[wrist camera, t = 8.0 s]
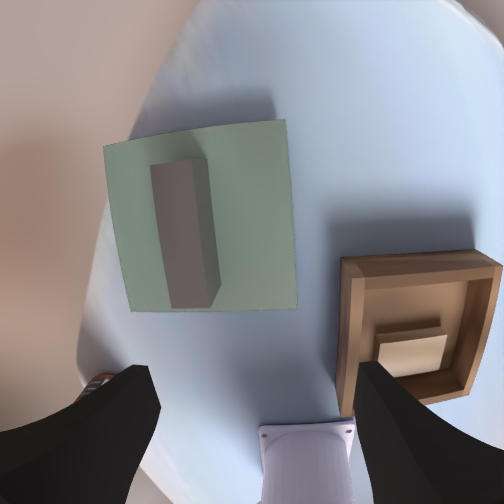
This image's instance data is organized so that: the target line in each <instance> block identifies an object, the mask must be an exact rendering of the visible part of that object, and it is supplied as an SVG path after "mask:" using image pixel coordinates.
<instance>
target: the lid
mask: <svg viewBox="0 0 504 504" xmlns="http://www.w3.org/2000/svg"><path fill="white" fill-rule="evenodd" d="M103 148H104V159H105V169H106V178H107V186H108V194H109V201H110V208H111V215H112V221H113V227H114V233H115V239H116V244H117V249H118V255H119V260H120V265H121V270H122V274H123V279H124V284H125V288H126V292H127V297H128V301H129V305H130V309H131V312H222V311H256V310H280V309H297V288H296V264H295V244H294V226H293V210H292V195H291V180H290V167H289V154H288V142H287V131H286V120H285V119H282V120H268V121H256V122H246V123H236V124H227V125H219V126H211V127H204V128H197V129H190V130H183V131H177V132H171V133H165V134H160V135H154V136H149V137H144V138H139V139H134V140H129V141H124V142H120V143H116V144H111V145H107V146H103Z"/></svg>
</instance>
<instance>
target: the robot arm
mask: <svg viewBox="0 0 504 504" xmlns="http://www.w3.org/2000/svg"><path fill="white" fill-rule="evenodd" d="M160 410H161V405H160V402H159V399H158V396H157V393H156V390H155V387H154V384H153V381H152V378H151V375H150V372H149V368H148V366H144V365H131V366H130V367H128V368H126V369H125V370H123V371H122V372H120V373H119V374H117V375H116V376H114V377H113V378H111V379H110V380H108V381H107V382H106V383H104V384H103V385H101V386H100V387H98V388H97V389H95V390H94V391H92V392H91V393H89V394H88V395H86V396H84V397H83V398H81V399H79V400H78V401H76V402H74V403H73V404H71V405H70V406H68V407H66V408H64V409H62V410H60V411H59V412H56V413H54V414H52V415H50V416H48V417H46V418H43V419H41V420H39V421H36V422H33V423H30V424H27V425H25V426H22V427H18V428H15V429H11V430H8V431H3V432H0V504H125V502H126V499H127V496H128V492H129V489H130V486H131V483H132V480H133V478H134V475H135V473H136V471H137V468H138V466H139V464H140V462H141V460H142V458H143V455H144V453H145V451H146V449H147V447H148V445H149V442H150V440H151V438H152V436H153V433H154V431H155V428H156V425H157V422H158V418H159V414H160ZM354 412H355V419H356V425H357V432H358V436H359V440H360V444H361V447H362V451H363V454H364V459H365V462H366V466H367V470H368V474H369V478H370V482H371V487H372V492H373V500H374V504H504V450H502V449H499V448H496V447H493V446H491V445H489V444H486V443H484V442H482V441H480V440H478V439H476V438H474V437H472V436H470V435H468V434H466V433H464V432H462V431H460V430H459V429H457V428H455V427H454V426H452V425H451V424H449V423H448V422H446V421H445V420H443V419H441V418H440V417H439V416H437V415H436V414H435V413H433V412H432V411H431V410H429V409H428V408H427V407H426V406H424V405H423V404H422V403H421V402H420V401H418V400H417V399H416V398H415V397H414V396H413V395H412V394H411V393H410V392H408V391H407V390H406V389H405V388H404V387H403V386H402V385H401V384H400V383H399V382H398V381H397V380H396V379H395V378H394V377H393V376H392V375H391V374H390V373H389V372H388V371H387V370H386V369H385V368H384V367H383V366H382V365H381V364H380V363H379V362H378V361H377V360H376V361H368V362H359V369H358V378H357V386H356V394H355V402H354ZM349 429H350V430H349ZM354 432H355V422H353V421H344V422H333V423H320V424H303V425H264V426H260V427H259V430H258V434H259V443H260V451H261V460H262V468H263V487H262V497H261V504H354V497H353V489H352V481H351V474H350V468H349V461H348V460H349V456H350V451H351V446H352V442H353V437H354Z"/></svg>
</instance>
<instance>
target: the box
mask: <svg viewBox="0 0 504 504" xmlns="http://www.w3.org/2000/svg"><path fill="white" fill-rule="evenodd" d="M502 270H503V265H501V264H500V263H498V262H496V261H495V260H493V259H491V258H490V257H488V256H486V255H485V254H483V253H481V252H479V251H478V250H476V249H471V250H456V251H440V252H424V253H408V254H391V255H374V256H357V257H340V308H339V332H338V350H337V365H336V379H335V388H336V394H337V399H338V405H339V411H340V416H341V418H344V417H353V416H355V412H354V402H355V394H356V386H357V378H358V369H359V362H368V361H376V360H377V361H378V362H379V363H380V364H381V365H382V366H383V367H384V368H385V369H386V370H387V371H388V372H389V373H390V374H391V375H392V376H393V377H394V378H395V379H396V380H397V381H398V382H399V383H400V384H401V385H402V386H403V387H404V388H405V389H406V390H407V391H408V392H410V393H411V394H412V395H413V396H414V397H415V398H416V399H417V400H418V401H420V402H421V403H422V404H423V405H429V404H433V403H438V402H442V401H447V400H451V399H455V398H459V397H463V396H466V395H469V393H470V391H471V388H472V385H473V382H474V380H475V377H476V374H477V371H478V368H479V365H480V362H481V359H482V356H483V352H484V349H485V346H486V342H487V339H488V335H489V331H490V327H491V324H492V320H493V315H494V311H495V307H496V302H497V297H498V292H499V287H500V282H501V276H502Z"/></svg>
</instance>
